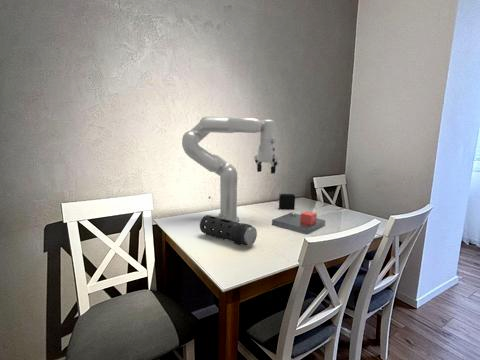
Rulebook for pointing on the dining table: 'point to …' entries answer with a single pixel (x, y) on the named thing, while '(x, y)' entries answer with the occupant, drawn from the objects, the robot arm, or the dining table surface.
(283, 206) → the electronic device
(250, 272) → the dining table surface
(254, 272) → the dining table surface
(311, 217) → the red block
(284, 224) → the board
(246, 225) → the muzzle brake
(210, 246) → the dining table surface
